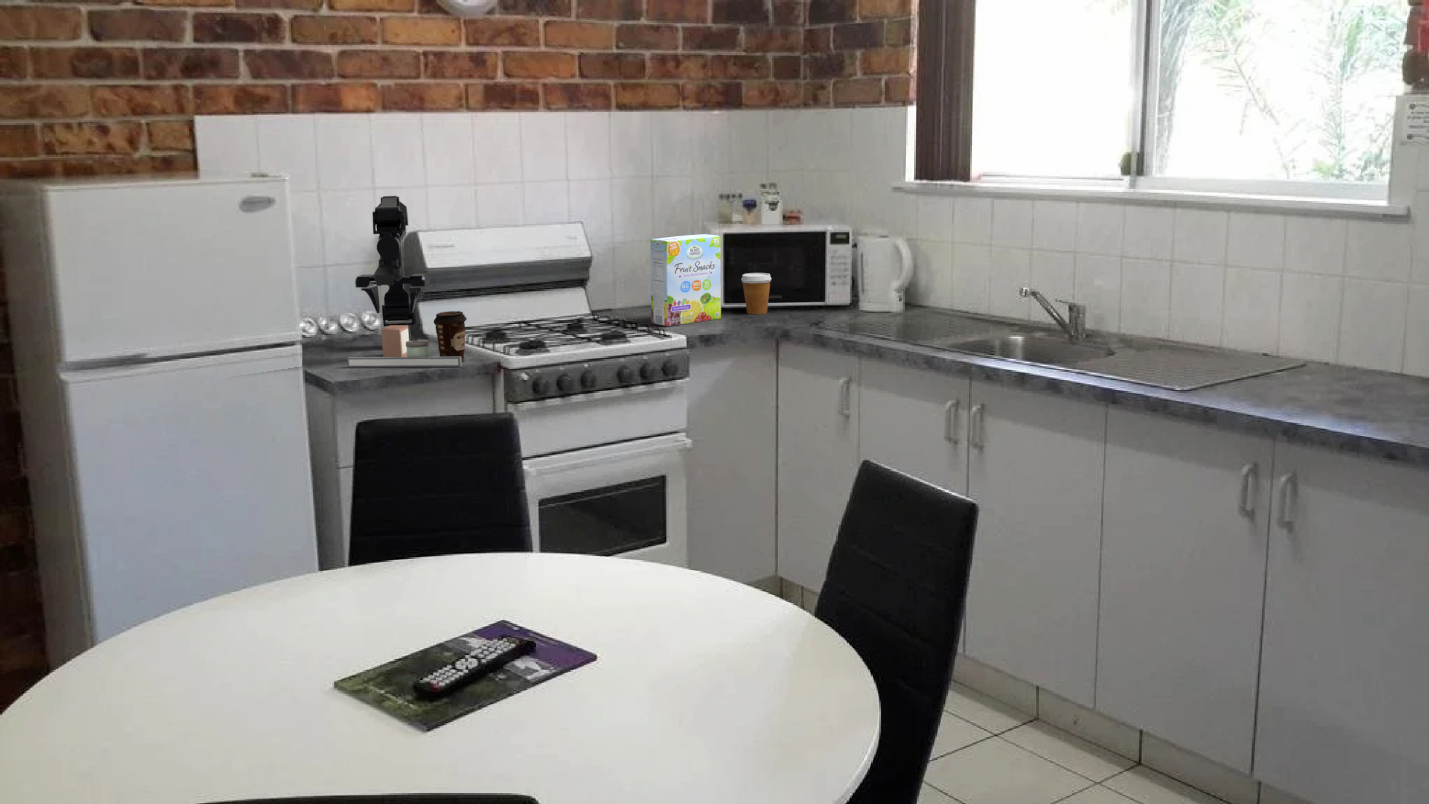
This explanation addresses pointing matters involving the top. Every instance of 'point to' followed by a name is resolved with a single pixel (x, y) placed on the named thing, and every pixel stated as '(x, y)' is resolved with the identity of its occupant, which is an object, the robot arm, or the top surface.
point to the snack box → (685, 279)
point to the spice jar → (417, 348)
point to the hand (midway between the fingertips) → (395, 312)
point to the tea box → (395, 340)
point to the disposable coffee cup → (756, 292)
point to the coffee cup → (451, 333)
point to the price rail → (405, 361)
